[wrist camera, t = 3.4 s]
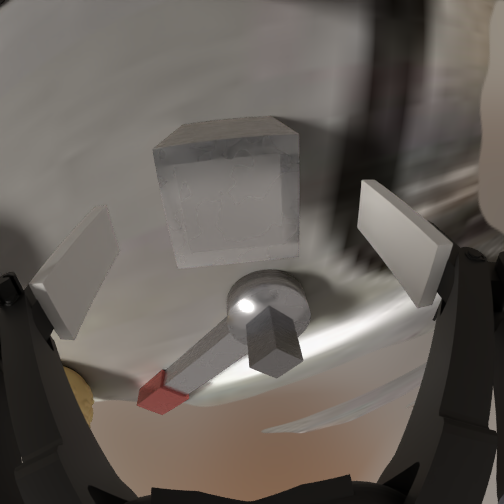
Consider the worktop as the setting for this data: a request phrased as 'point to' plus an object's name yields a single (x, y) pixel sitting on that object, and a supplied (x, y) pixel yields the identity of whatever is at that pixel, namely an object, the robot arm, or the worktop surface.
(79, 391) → the sculpture
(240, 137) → the frosted translucent cube
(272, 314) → the ratchet
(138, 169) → the worktop surface
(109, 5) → the worktop surface
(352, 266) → the worktop surface
